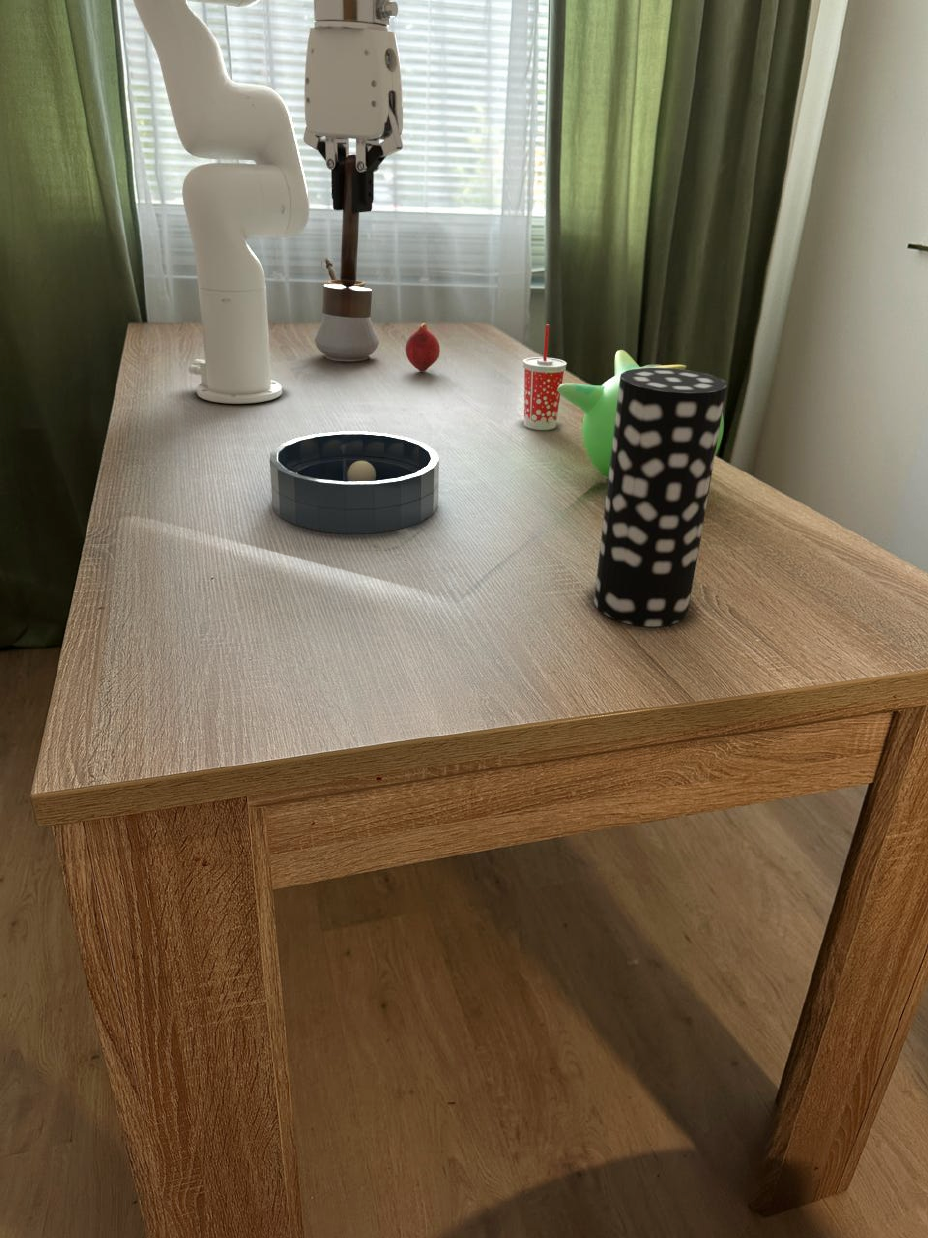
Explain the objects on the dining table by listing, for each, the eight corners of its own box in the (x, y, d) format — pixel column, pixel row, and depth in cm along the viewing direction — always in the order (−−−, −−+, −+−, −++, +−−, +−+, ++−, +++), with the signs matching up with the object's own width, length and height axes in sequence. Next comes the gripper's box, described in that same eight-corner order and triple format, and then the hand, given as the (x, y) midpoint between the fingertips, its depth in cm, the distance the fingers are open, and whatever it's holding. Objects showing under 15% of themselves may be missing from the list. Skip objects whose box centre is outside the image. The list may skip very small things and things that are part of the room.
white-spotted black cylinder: (585, 584, 85) (609, 366, 76) (672, 584, 86) (707, 368, 77) (605, 627, 78) (634, 391, 69) (700, 626, 79) (742, 393, 70)
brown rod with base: (313, 312, 105) (318, 149, 99) (336, 310, 110) (343, 154, 104) (356, 319, 104) (364, 153, 97) (378, 316, 109) (387, 158, 102)
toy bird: (681, 520, 101) (702, 386, 94) (544, 487, 108) (555, 361, 102) (731, 477, 114) (753, 357, 108) (607, 451, 122) (620, 337, 115)
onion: (434, 376, 156) (435, 327, 152) (401, 373, 157) (402, 325, 153) (442, 369, 161) (443, 321, 157) (410, 366, 162) (410, 319, 158)
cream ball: (350, 472, 105) (350, 452, 102) (378, 476, 105) (378, 457, 102) (345, 493, 103) (344, 473, 101) (373, 497, 103) (373, 478, 101)
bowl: (238, 518, 96) (234, 463, 94) (334, 472, 110) (332, 423, 108) (382, 554, 90) (382, 496, 87) (464, 500, 104) (466, 449, 101)
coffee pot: (386, 362, 163) (386, 273, 156) (322, 365, 160) (319, 273, 153) (357, 338, 181) (356, 257, 174) (299, 340, 177) (295, 257, 170)
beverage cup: (569, 426, 132) (579, 325, 126) (543, 434, 128) (551, 330, 122) (536, 416, 136) (544, 318, 129) (509, 424, 132) (516, 323, 125)
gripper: (436, 18, 94) (430, 215, 103) (309, 17, 100) (314, 202, 109) (398, 10, 88) (395, 219, 97) (266, 9, 94) (274, 205, 103)
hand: (352, 209), depth 103 cm, fingers closed on brown rod with base
